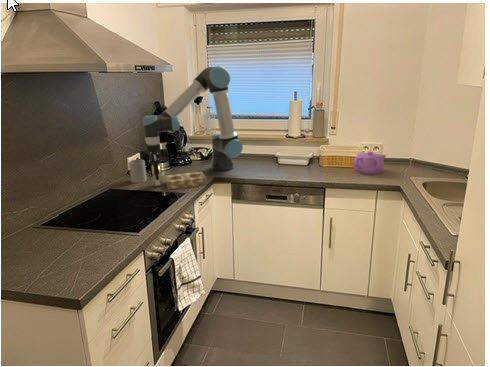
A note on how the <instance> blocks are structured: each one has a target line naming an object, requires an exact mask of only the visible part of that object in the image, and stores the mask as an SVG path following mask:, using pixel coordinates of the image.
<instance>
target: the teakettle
mask: <svg viewBox="0 0 490 367" xmlns="http://www.w3.org/2000/svg"><path fill="white" fill-rule="evenodd" d="M386 157H387V156H386V154H379V153H375V152H373V151H367V152H365V153H357V154H356V157H354V160H353V167H354V170H355V172H358V173H359V174H362V175H365V176H366V175H368V176H369V175H376V174H381V173H383V172H384V169H385V162H384V160H385V158H386Z"/></svg>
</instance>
